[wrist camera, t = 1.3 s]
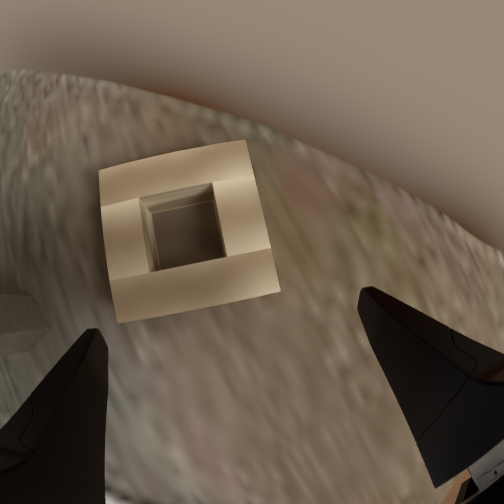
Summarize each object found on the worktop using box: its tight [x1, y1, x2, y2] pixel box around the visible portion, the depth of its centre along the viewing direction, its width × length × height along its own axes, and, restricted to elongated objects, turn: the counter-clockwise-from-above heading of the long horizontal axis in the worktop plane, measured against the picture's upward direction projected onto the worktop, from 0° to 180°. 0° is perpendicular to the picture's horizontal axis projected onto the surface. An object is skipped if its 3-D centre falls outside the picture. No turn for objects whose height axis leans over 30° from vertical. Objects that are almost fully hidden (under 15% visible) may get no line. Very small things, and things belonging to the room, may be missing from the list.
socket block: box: [99, 140, 280, 324], centre depth 22 cm, size 11×11×4 cm
